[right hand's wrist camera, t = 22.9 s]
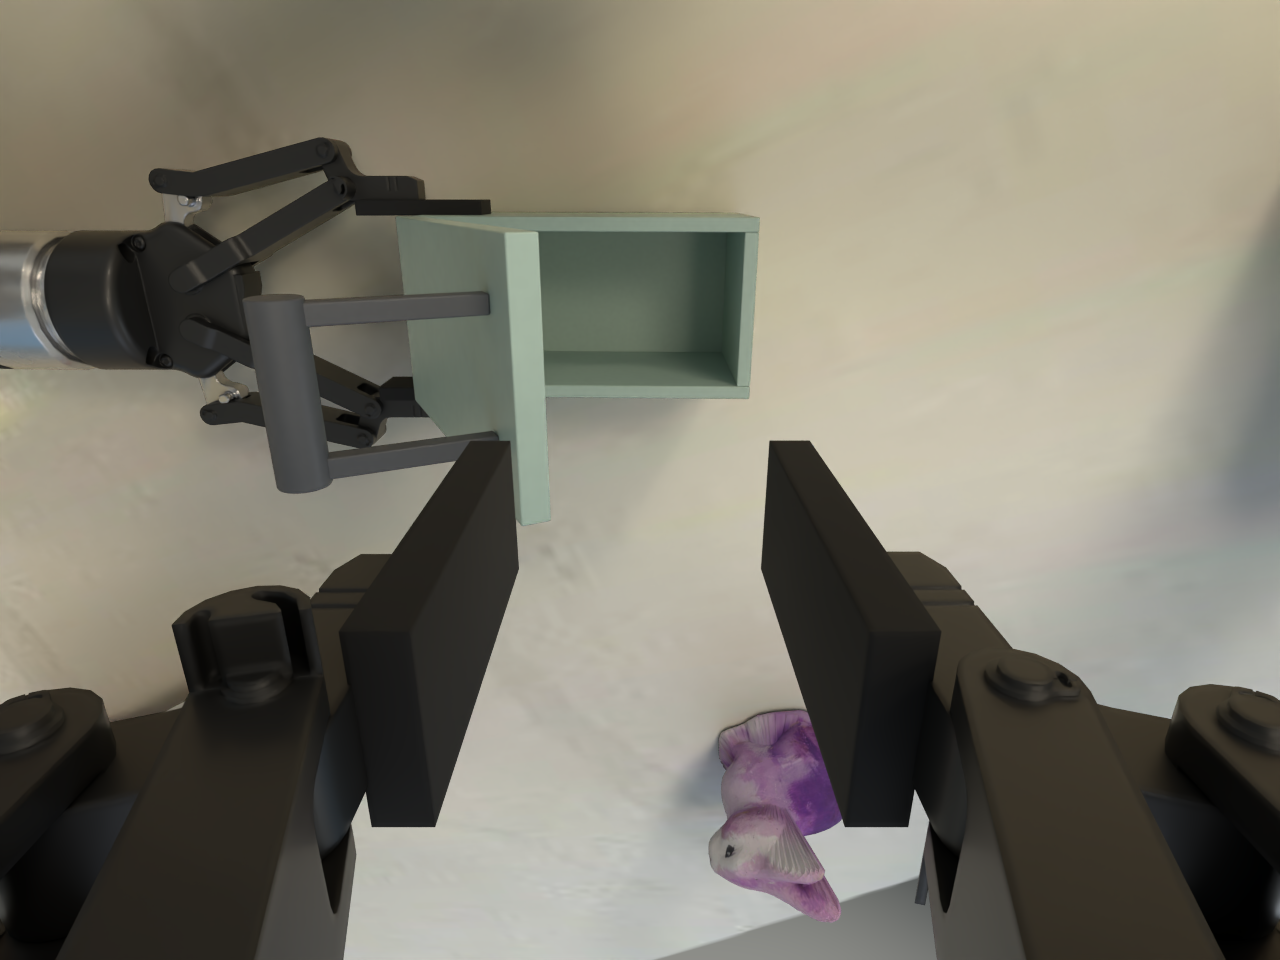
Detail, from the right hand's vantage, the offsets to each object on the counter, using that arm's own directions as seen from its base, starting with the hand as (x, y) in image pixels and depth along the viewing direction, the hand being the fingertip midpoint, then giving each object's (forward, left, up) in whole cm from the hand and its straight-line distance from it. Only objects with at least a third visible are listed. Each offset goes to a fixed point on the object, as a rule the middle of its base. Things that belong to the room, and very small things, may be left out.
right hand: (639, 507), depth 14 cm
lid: (+3, -6, -17) cm, 19 cm away
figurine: (+27, +28, -36) cm, 53 cm away
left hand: (+4, -7, -29) cm, 30 cm away
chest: (+1, -2, -36) cm, 36 cm away
